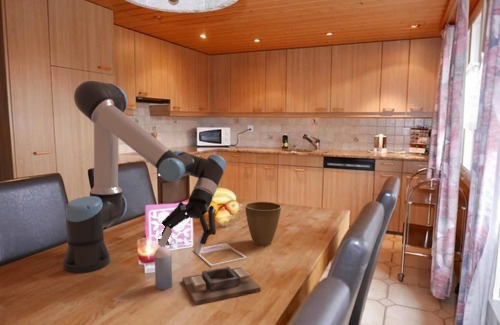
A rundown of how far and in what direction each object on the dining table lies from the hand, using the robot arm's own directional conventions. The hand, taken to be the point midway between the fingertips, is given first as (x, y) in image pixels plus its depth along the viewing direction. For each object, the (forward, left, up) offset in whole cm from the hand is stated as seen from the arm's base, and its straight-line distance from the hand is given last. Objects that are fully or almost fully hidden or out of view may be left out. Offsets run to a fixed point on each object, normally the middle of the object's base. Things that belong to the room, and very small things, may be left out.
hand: (178, 249), depth 114 cm
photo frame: (+19, +16, -11) cm, 27 cm away
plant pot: (+40, +21, -10) cm, 46 cm away
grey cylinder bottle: (-5, -2, -10) cm, 12 cm away
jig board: (+11, -9, -10) cm, 18 cm away
